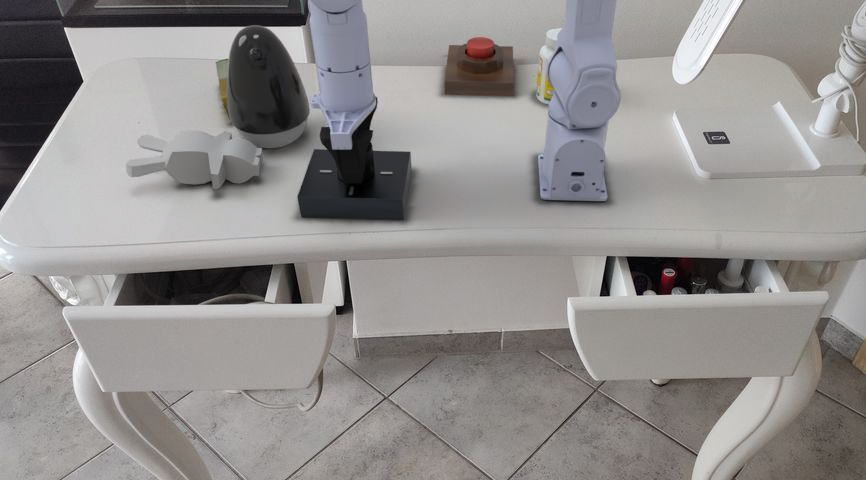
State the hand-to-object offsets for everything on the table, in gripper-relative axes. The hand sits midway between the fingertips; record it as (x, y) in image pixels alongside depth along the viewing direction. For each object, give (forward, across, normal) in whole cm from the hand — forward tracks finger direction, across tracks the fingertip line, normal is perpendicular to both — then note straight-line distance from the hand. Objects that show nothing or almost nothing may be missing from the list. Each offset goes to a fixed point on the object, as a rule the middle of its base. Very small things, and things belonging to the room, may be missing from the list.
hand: (355, 169), depth 84 cm
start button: (0, -30, +15) cm, 34 cm away
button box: (+3, -30, +16) cm, 34 cm away
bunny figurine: (+4, -4, -20) cm, 21 cm away
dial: (0, 0, 0) cm, 0 cm away
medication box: (+4, -22, -20) cm, 30 cm away
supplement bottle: (+4, -24, +26) cm, 36 cm away
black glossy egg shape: (+4, -13, -12) cm, 18 cm away
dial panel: (+3, 0, 0) cm, 3 cm away
